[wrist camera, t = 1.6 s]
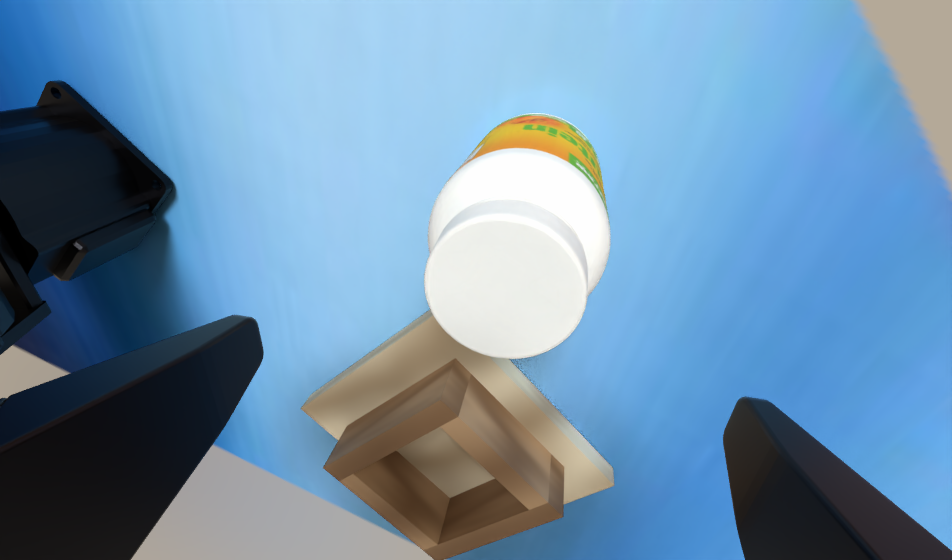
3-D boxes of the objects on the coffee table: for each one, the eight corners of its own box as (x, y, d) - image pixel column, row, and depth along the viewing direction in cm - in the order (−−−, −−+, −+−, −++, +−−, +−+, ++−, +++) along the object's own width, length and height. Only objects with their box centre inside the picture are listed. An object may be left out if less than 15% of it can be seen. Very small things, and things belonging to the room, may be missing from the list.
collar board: (310, 394, 28) (272, 448, 25) (448, 296, 23) (425, 346, 19) (462, 526, 32) (447, 591, 28) (612, 467, 26) (618, 537, 23)
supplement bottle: (629, 160, 18) (674, 273, 10) (549, 259, 21) (532, 413, 13) (516, 82, 18) (463, 133, 9) (449, 194, 20) (361, 311, 12)
